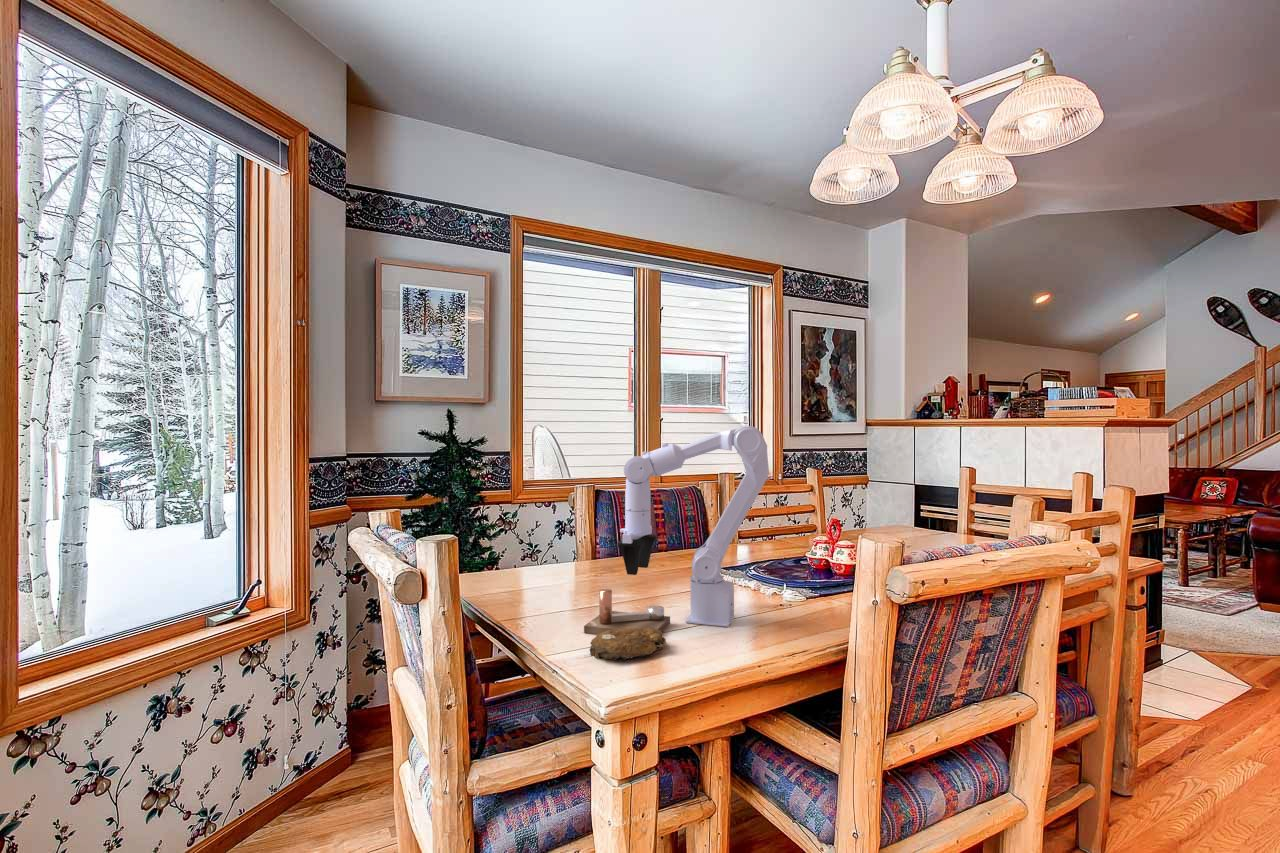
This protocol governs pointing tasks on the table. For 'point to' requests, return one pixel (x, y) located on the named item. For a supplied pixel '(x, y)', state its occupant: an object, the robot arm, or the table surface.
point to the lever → (608, 617)
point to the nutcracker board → (625, 624)
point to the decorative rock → (626, 643)
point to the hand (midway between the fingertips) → (637, 570)
